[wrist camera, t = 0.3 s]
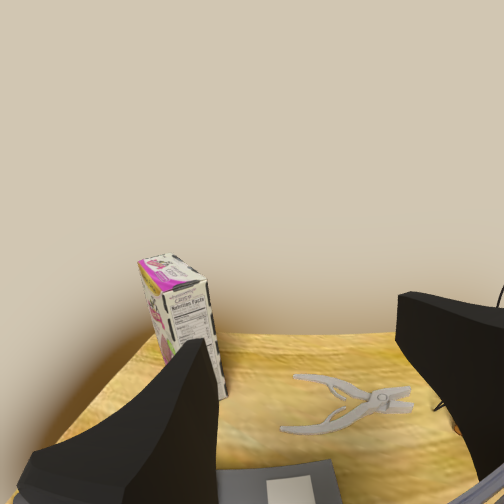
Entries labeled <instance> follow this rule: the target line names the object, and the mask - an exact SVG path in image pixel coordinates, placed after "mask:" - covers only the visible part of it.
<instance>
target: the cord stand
mask: <svg viewBox="0 0 504 504" xmlns="http://www.w3.org/2000/svg"><path fill="white" fill-rule="evenodd" d="M13 504H30V503H28V502H27V501H26V500H25V499H24V498H23V497H22V495H21V494H20V492H19V493H18V494H17V495H16V496H15V497H14V500H13Z"/></svg>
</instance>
